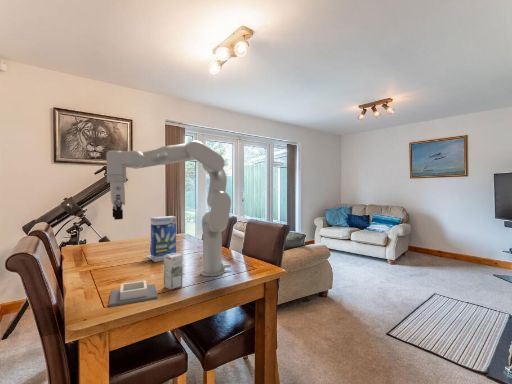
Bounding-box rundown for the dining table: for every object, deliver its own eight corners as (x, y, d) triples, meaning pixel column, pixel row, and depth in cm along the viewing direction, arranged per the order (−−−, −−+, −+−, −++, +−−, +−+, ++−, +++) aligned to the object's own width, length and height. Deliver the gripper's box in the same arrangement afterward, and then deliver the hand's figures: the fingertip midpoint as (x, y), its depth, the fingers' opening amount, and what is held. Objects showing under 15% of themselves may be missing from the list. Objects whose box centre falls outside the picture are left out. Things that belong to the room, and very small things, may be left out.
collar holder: (154, 286, 118) (154, 277, 118) (157, 298, 106) (157, 288, 106) (111, 292, 111) (111, 283, 111) (108, 307, 98) (108, 296, 98)
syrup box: (175, 283, 122) (174, 252, 122) (182, 286, 118) (182, 254, 118) (163, 287, 118) (163, 254, 117) (171, 290, 114) (171, 257, 113)
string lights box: (154, 262, 154) (154, 218, 154) (150, 259, 160) (149, 217, 159) (176, 258, 163) (176, 216, 162) (171, 255, 169) (171, 215, 168)
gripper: (128, 179, 111) (129, 219, 111) (124, 179, 125) (124, 215, 126) (108, 178, 107) (109, 221, 107) (106, 179, 121) (106, 216, 122)
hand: (117, 218), depth 117 cm, fingers open, 9 cm apart
